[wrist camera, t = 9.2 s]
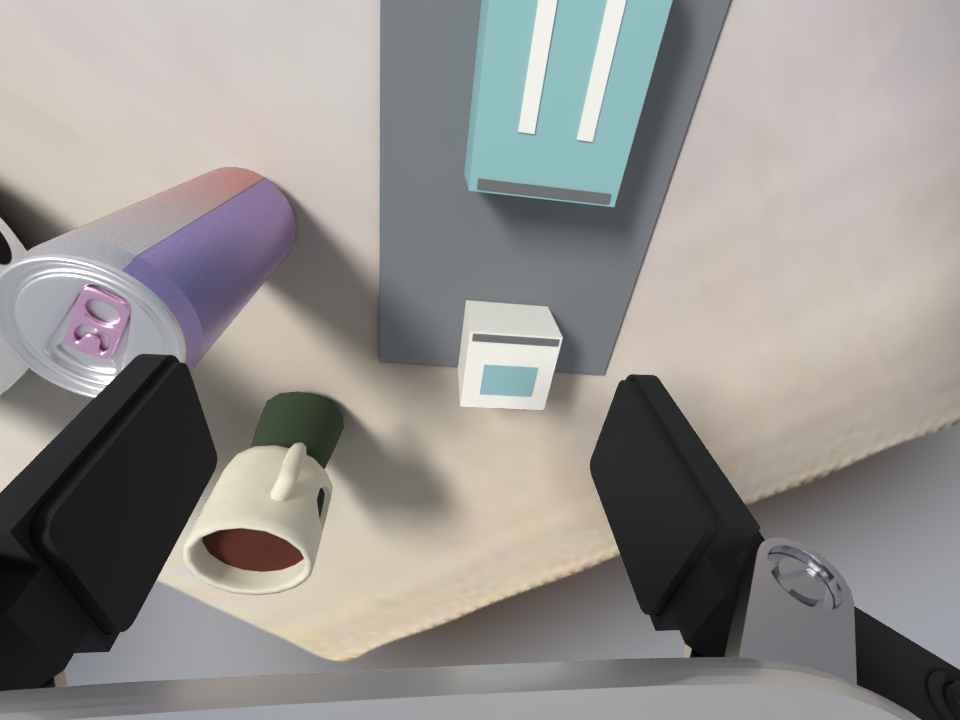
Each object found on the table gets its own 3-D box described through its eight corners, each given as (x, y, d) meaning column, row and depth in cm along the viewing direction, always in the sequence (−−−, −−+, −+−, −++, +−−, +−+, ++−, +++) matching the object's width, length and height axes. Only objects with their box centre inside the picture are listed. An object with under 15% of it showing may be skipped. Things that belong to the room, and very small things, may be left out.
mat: (382, -226, 18) (381, -232, 18) (770, -133, 21) (776, -136, 20) (379, 359, 34) (379, 362, 33) (602, 372, 36) (603, 374, 36)
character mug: (324, 470, 40) (282, 620, 29) (242, 445, 37) (162, 598, 26) (372, 384, 35) (344, 524, 24) (282, 348, 32) (206, 486, 22)
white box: (465, 300, 31) (470, 331, 27) (547, 306, 32) (563, 338, 28) (457, 369, 34) (460, 407, 30) (532, 374, 35) (544, 410, 31)
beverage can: (316, 206, 27) (214, 319, 15) (275, 279, 29) (156, 430, 17) (218, 142, 25) (-2, 209, 12) (182, 226, 27) (-35, 355, 15)
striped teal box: (491, -104, 20) (504, -146, 16) (653, -70, 21) (702, -101, 17) (464, 174, 26) (468, 191, 23) (589, 189, 28) (614, 207, 24)
